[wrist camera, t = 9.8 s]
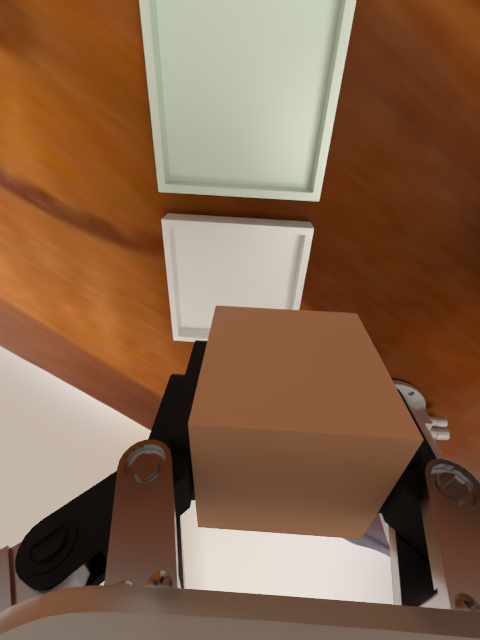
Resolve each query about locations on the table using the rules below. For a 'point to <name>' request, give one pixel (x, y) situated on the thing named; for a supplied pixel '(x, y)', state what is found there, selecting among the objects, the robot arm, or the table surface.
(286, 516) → the brown cube
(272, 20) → the green tray
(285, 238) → the white tray
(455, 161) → the table surface
